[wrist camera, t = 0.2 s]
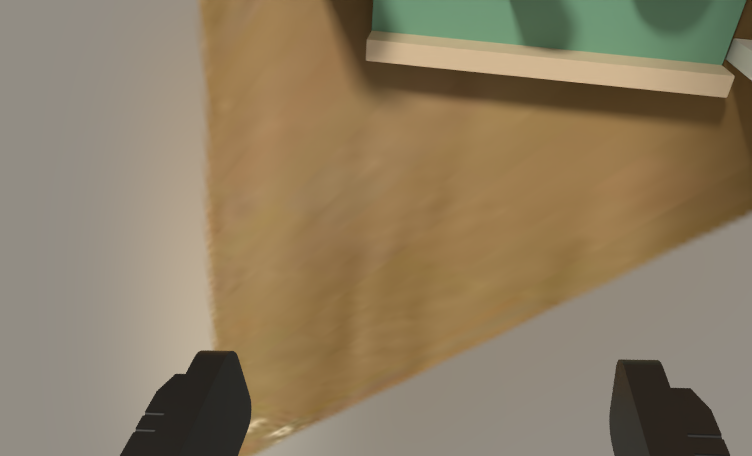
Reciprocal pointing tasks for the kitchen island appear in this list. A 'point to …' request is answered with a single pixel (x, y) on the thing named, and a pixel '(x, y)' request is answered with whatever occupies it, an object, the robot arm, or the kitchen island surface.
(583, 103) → the kitchen island surface
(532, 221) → the kitchen island surface
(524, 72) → the pitch
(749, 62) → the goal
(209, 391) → the robot arm
